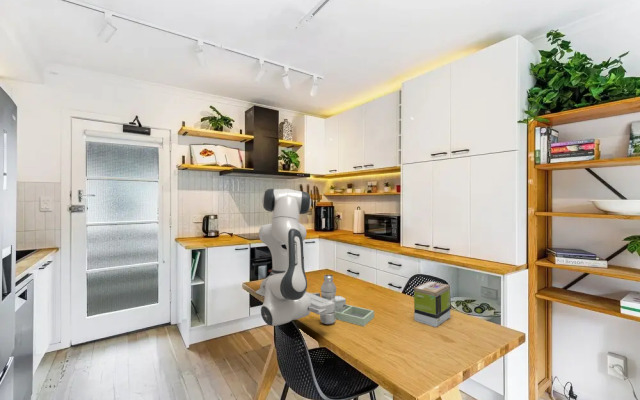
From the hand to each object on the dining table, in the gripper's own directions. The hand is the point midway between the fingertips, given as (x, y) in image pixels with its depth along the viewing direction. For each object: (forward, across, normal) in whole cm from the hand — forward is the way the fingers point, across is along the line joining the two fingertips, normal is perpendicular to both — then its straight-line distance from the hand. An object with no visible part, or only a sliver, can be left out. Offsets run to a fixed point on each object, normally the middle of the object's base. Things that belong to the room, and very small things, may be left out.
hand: (326, 297), depth 124 cm
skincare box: (+11, +5, +11) cm, 16 cm away
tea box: (+38, -27, +11) cm, 48 cm away
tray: (+12, 0, +11) cm, 16 cm away
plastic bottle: (+1, 0, +11) cm, 11 cm away
